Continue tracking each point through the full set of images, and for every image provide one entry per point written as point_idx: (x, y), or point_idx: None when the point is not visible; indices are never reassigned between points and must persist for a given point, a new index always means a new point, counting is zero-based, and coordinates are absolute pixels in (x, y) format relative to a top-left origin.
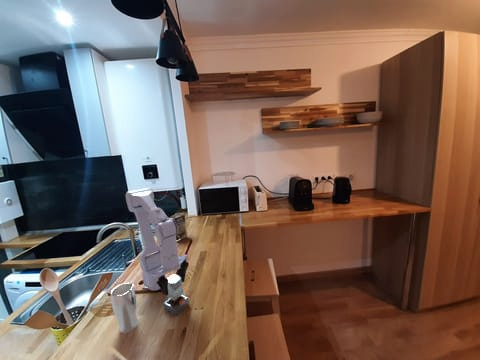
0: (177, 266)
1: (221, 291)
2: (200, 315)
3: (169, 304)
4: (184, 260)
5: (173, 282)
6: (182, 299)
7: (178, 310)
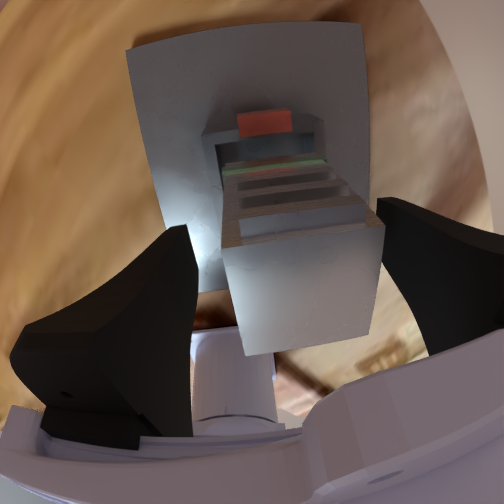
0: (417, 473)
1: (29, 88)
2: (208, 21)
3: None
4: (59, 436)
5: (364, 229)
6: (255, 130)
7: (294, 117)
